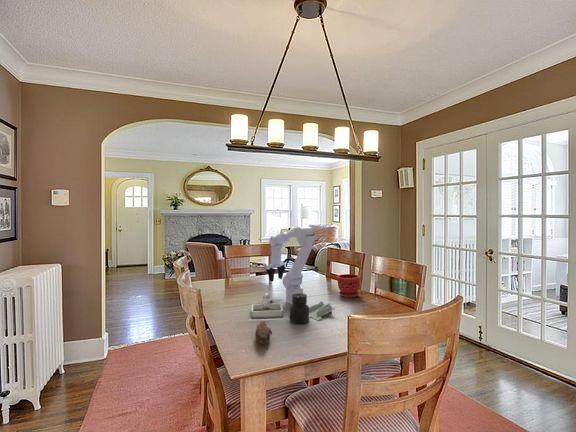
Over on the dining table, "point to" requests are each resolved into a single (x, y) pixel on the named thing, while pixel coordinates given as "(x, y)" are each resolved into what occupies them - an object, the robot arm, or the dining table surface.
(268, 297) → the silver rounded piece
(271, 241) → the robot arm
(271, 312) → the tray
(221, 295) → the dining table surface
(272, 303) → the socket base
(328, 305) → the metal bracket
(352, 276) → the plant pot
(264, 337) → the bird sculpture
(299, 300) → the ink bottle
